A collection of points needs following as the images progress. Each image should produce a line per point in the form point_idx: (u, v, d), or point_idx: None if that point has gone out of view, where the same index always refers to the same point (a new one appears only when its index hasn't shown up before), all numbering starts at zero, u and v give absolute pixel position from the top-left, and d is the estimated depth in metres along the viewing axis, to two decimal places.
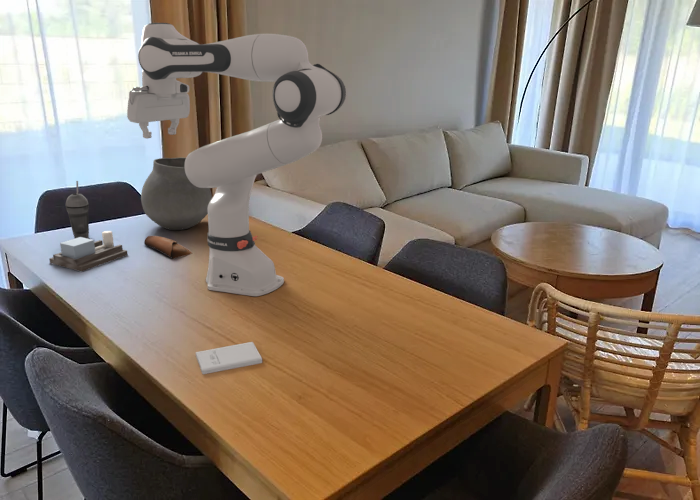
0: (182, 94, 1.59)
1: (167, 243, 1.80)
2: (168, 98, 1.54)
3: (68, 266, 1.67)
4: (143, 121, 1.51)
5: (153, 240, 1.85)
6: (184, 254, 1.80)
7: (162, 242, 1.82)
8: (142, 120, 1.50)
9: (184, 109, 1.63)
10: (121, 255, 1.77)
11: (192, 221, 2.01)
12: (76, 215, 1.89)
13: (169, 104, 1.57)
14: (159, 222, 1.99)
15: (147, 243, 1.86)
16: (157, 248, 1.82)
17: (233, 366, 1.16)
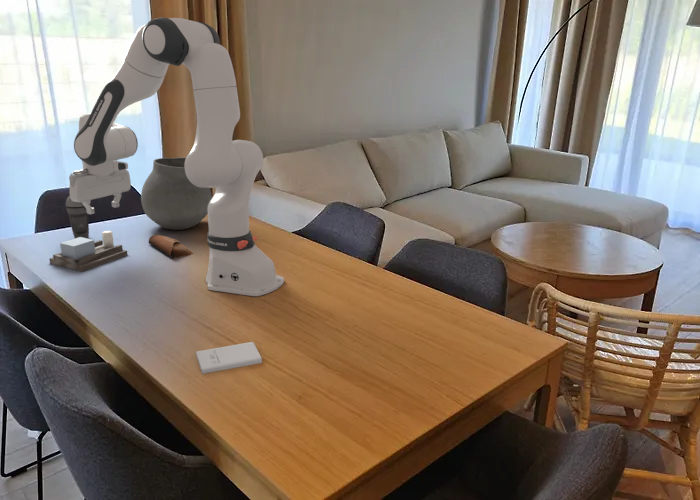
0: (121, 171, 1.77)
1: (169, 243, 1.81)
2: (107, 177, 1.72)
3: (68, 266, 1.67)
4: (84, 200, 1.68)
5: (156, 239, 1.85)
6: (185, 254, 1.80)
7: (164, 241, 1.82)
8: (83, 199, 1.68)
9: (125, 184, 1.81)
10: (121, 255, 1.77)
11: (192, 221, 2.01)
12: (76, 215, 1.89)
13: (109, 181, 1.75)
14: (159, 222, 1.99)
15: (151, 242, 1.87)
16: (159, 247, 1.82)
17: (233, 366, 1.16)
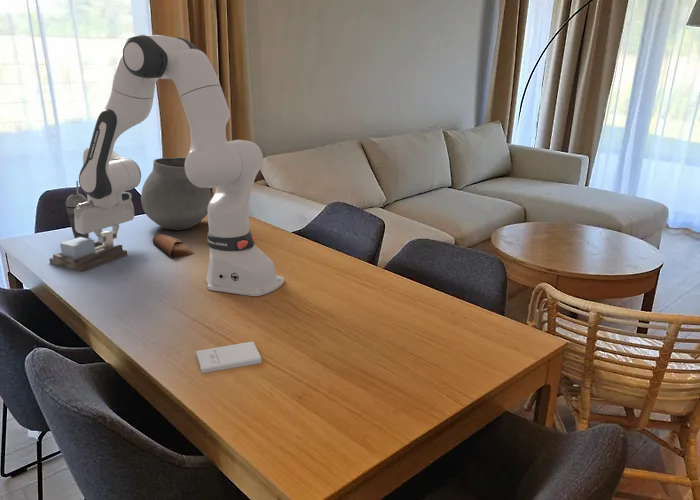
0: (125, 201, 1.80)
1: (170, 242, 1.81)
2: (111, 208, 1.75)
3: (68, 266, 1.67)
4: (89, 231, 1.71)
5: (159, 239, 1.86)
6: (185, 254, 1.80)
7: (166, 241, 1.82)
8: (88, 231, 1.71)
9: (128, 214, 1.84)
10: (121, 255, 1.77)
11: (192, 221, 2.01)
12: None
13: (113, 212, 1.78)
14: (159, 222, 1.99)
15: (154, 241, 1.88)
16: (161, 247, 1.83)
17: (232, 365, 1.16)
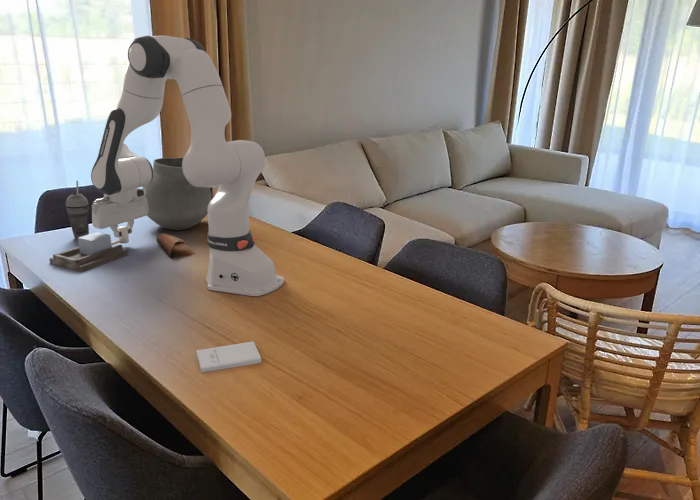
0: (140, 197, 1.86)
1: (171, 242, 1.81)
2: (127, 204, 1.81)
3: (68, 266, 1.67)
4: (106, 226, 1.77)
5: (162, 238, 1.87)
6: (186, 254, 1.80)
7: (168, 241, 1.83)
8: (105, 226, 1.76)
9: (143, 209, 1.89)
10: (121, 255, 1.77)
11: (192, 221, 2.01)
12: (76, 215, 1.89)
13: (129, 208, 1.84)
14: (159, 222, 1.99)
15: (158, 240, 1.89)
16: (163, 246, 1.83)
17: (232, 365, 1.17)
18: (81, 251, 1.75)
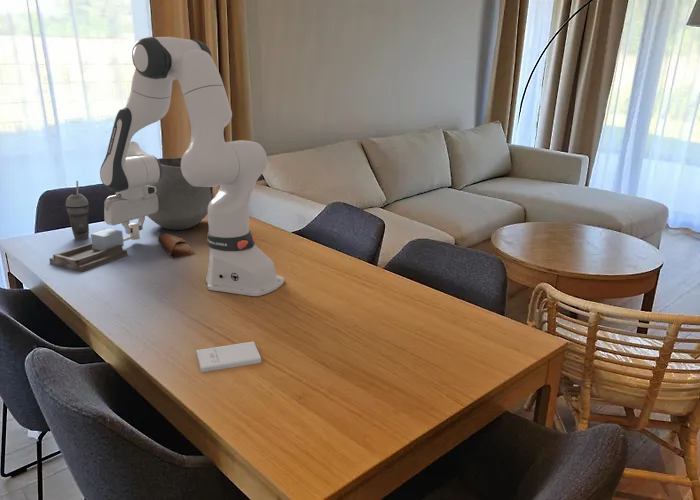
0: (150, 195, 1.89)
1: (172, 242, 1.81)
2: (138, 201, 1.85)
3: (68, 266, 1.67)
4: (118, 223, 1.80)
5: (163, 238, 1.87)
6: (186, 254, 1.80)
7: (169, 241, 1.83)
8: (117, 222, 1.80)
9: (153, 206, 1.93)
10: (121, 255, 1.77)
11: (192, 221, 2.01)
12: (76, 215, 1.89)
13: (140, 205, 1.88)
14: (159, 222, 1.99)
15: (159, 240, 1.89)
16: (164, 246, 1.84)
17: (232, 365, 1.17)
18: (94, 247, 1.79)
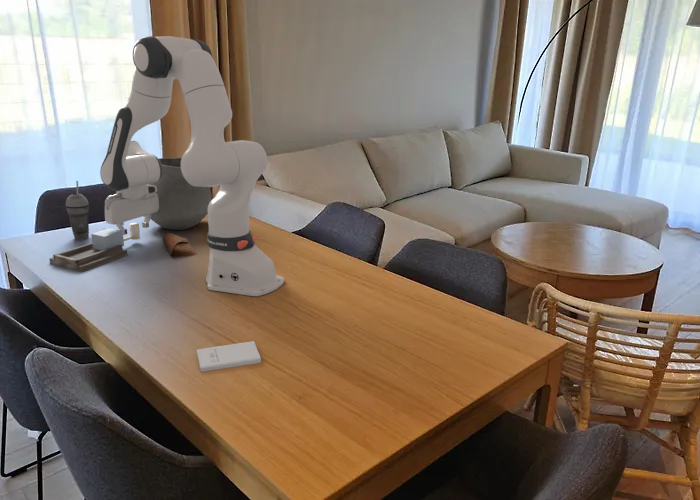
0: (151, 194, 1.89)
1: (174, 242, 1.82)
2: (138, 200, 1.85)
3: (68, 266, 1.67)
4: (118, 222, 1.81)
5: (166, 237, 1.87)
6: (187, 255, 1.80)
7: (171, 240, 1.83)
8: (117, 221, 1.80)
9: (154, 206, 1.93)
10: (121, 255, 1.77)
11: (192, 221, 2.01)
12: (76, 215, 1.89)
13: (140, 204, 1.88)
14: (159, 222, 1.99)
15: (163, 240, 1.90)
16: (166, 246, 1.84)
17: (231, 365, 1.17)
18: (94, 247, 1.79)
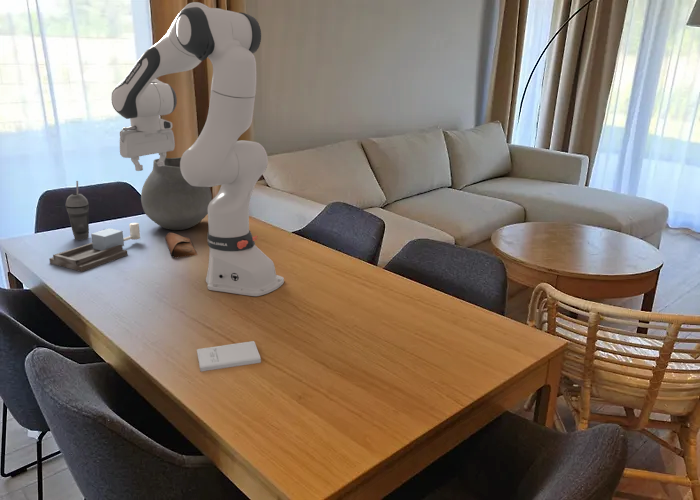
0: (166, 130, 1.83)
1: (175, 242, 1.82)
2: (154, 134, 1.78)
3: (68, 266, 1.67)
4: (134, 156, 1.74)
5: (169, 237, 1.88)
6: (187, 255, 1.80)
7: (172, 240, 1.84)
8: (133, 155, 1.73)
9: (169, 143, 1.86)
10: (121, 255, 1.77)
11: (192, 221, 2.01)
12: (76, 215, 1.89)
13: (156, 140, 1.81)
14: (159, 222, 1.99)
15: (165, 239, 1.90)
16: (168, 245, 1.84)
17: (231, 364, 1.17)
18: (94, 247, 1.79)
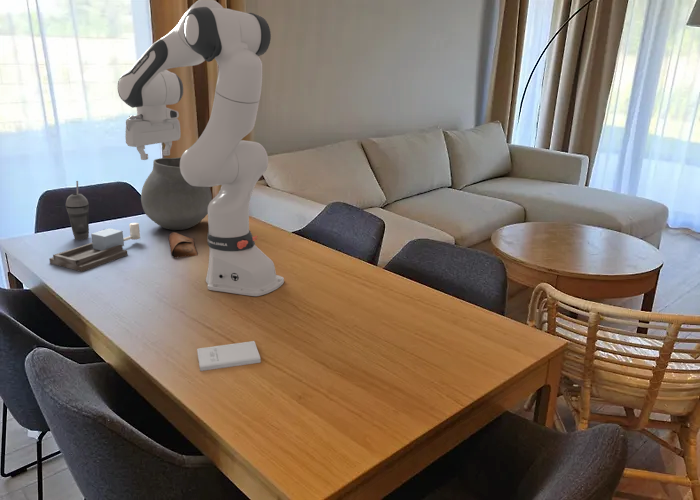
0: (172, 119, 1.82)
1: (176, 241, 1.82)
2: (160, 123, 1.77)
3: (68, 266, 1.67)
4: (140, 145, 1.73)
5: (171, 237, 1.88)
6: (188, 255, 1.80)
7: (174, 240, 1.84)
8: (139, 144, 1.72)
9: (175, 133, 1.85)
10: (121, 255, 1.77)
11: (192, 221, 2.01)
12: (76, 215, 1.89)
13: (162, 129, 1.80)
14: (159, 222, 1.99)
15: (169, 239, 1.91)
16: None
17: (231, 364, 1.17)
18: (94, 247, 1.79)
